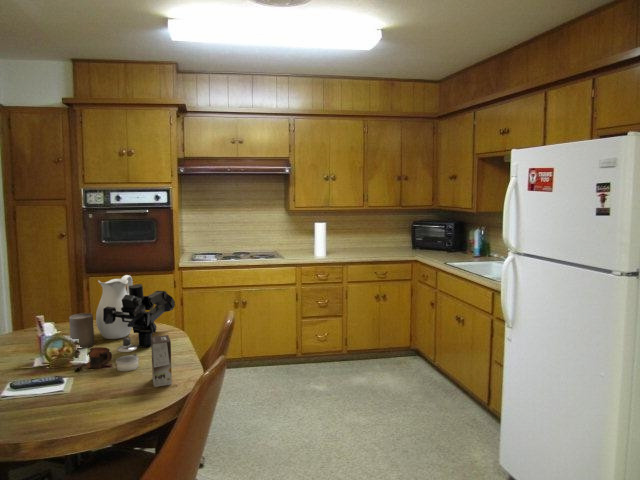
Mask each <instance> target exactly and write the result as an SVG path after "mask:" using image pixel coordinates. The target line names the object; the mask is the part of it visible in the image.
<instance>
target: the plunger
mask: <svg viewBox="0 0 640 480" xmlns="http://www.w3.org/2000/svg"><path fill="white" fill-rule="evenodd" d="M131 340H132V339H131V337H123V338H122V345H120V346H118V347H117V349H116V351H117V352H119V353H130V352H133V351H136V350H137V348H138V347H137V346H136V344H132V343H131V342H132V341H131Z"/></svg>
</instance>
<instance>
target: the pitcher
mask: <svg viewBox="0 0 640 480" xmlns="http://www.w3.org/2000/svg"><path fill="white" fill-rule="evenodd" d="M133 281H134V280H133V278H132V276H131V275H130V274H129V275H128V274H125V275H123V276H122V277H121V278H114V279H113V278H112V279H110V280H108V281H105V282H101V281H100V280H97V282H98V283H99V284H100V285H101V288H102V293H101V298H100V300H99V303H98V305H97V308H96V312H95V313H96V314H95V321H96V322H95V324H96V327H97V329H98V331H99V333H100V334H101V336H102V338H103V339H107V340H117V339H124V338H127V336H129V334H130V333H131V331H132V330H133V327H128V323H129V322H122V318H119V317H116V319H115V322H113V323H112V324H105V322H104V321H103V309H104V308H106V307H115V308H116V311H119V312H122V311H121V308H122V307H123V305H122V299H123V297H124V296H125V295H129V286H132V285H134V284H133V283H134V282H133Z"/></svg>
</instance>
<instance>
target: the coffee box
mask: <svg viewBox="0 0 640 480" xmlns="http://www.w3.org/2000/svg"><path fill="white" fill-rule="evenodd" d="M150 350H151V371H152V375H151V376H152V383H153V387H154V388H158V387H163V386H171V385H172V384H173V382H172V381H173V378H172V342H171V338H170V337H169V335H168V334H166V335H156V336H152V337H151V347H150Z"/></svg>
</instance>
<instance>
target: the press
mask: <svg viewBox="0 0 640 480" xmlns="http://www.w3.org/2000/svg"><path fill="white" fill-rule="evenodd" d="M139 359H140V358H139V356H138V355H137V354H132V355H131V354H130V355H123V356H120V357H117V358H116V359H115V363H116V370H117V371H118V372H131V371H134V370H137V369H138V368H139Z"/></svg>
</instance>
